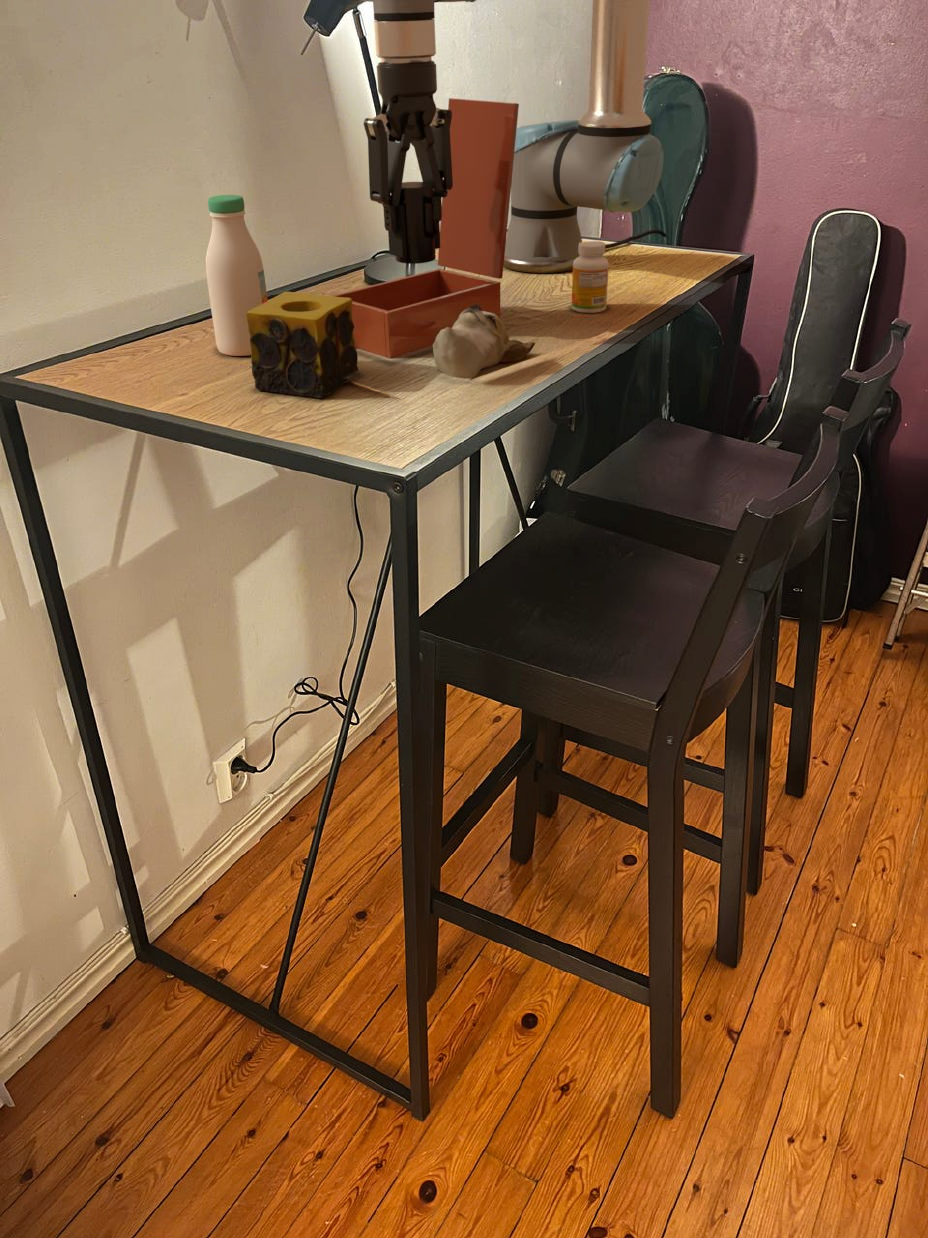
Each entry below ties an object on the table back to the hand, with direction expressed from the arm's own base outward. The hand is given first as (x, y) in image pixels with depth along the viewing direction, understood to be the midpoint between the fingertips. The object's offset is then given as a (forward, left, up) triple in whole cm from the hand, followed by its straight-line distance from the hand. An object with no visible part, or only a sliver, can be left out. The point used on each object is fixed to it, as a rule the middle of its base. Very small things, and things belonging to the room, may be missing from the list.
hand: (415, 250), depth 140 cm
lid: (-12, 0, +7) cm, 13 cm away
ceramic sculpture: (+5, +16, -12) cm, 21 cm away
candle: (+23, +4, -12) cm, 27 cm away
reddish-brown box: (0, 0, -12) cm, 12 cm away
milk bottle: (+20, -14, -12) cm, 27 cm away
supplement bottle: (-28, +9, -12) cm, 32 cm away
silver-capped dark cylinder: (0, 0, -1) cm, 1 cm away
